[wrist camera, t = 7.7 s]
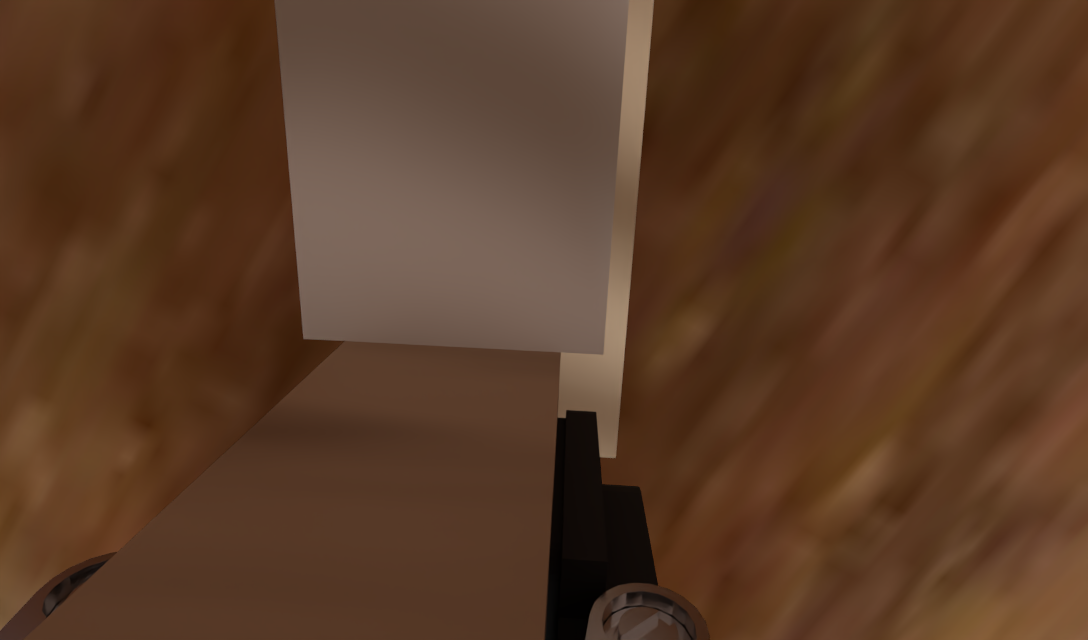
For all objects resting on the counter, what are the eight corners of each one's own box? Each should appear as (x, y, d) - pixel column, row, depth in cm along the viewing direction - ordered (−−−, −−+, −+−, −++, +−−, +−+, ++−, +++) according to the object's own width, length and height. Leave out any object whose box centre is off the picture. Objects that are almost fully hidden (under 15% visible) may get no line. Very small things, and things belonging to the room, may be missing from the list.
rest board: (613, 441, 19) (615, 458, 18) (386, 428, 19) (376, 444, 18) (660, -139, 14) (667, -159, 13) (361, -147, 14) (346, -167, 13)
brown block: (584, 574, 12) (597, 1110, 6) (339, 558, 12) (64, 1060, 6) (639, -214, 8) (911, -1605, 2) (279, -222, 8) (-803, -1509, 2)
